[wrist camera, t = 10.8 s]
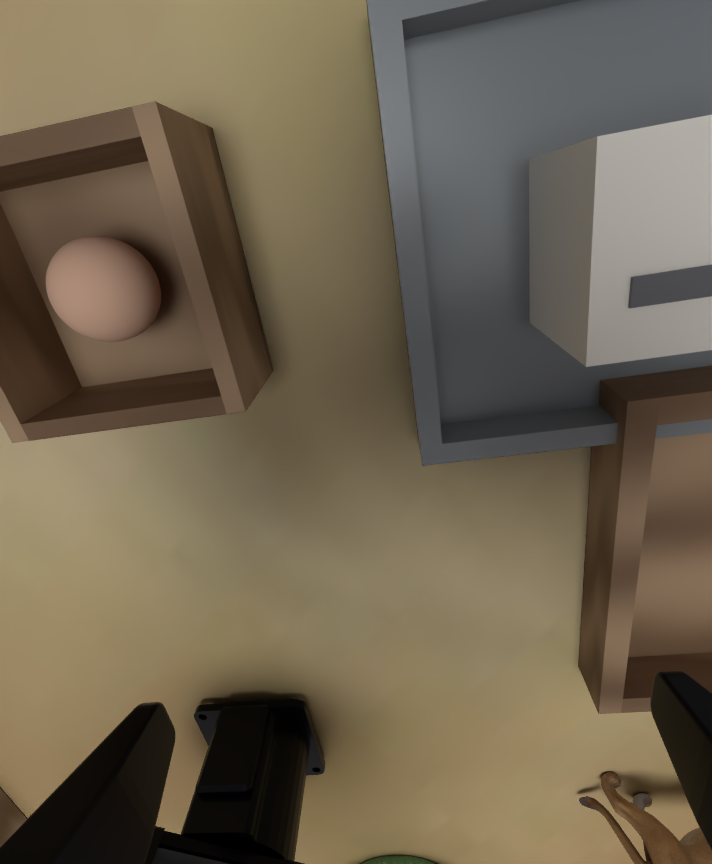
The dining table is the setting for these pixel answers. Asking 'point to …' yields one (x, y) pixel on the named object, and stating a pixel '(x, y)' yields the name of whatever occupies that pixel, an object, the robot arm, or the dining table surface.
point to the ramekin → (398, 860)
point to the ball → (103, 288)
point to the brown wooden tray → (648, 542)
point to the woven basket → (9, 818)
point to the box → (163, 248)
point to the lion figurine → (649, 829)
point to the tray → (512, 196)
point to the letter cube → (624, 243)
